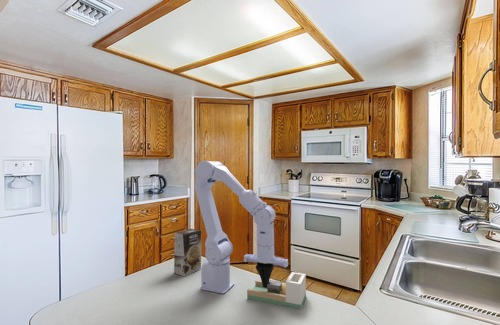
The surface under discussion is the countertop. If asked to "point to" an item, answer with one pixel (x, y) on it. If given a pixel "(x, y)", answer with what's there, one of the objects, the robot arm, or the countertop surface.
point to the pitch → (291, 299)
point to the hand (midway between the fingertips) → (265, 286)
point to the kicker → (274, 287)
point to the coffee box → (187, 252)
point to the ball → (283, 289)
